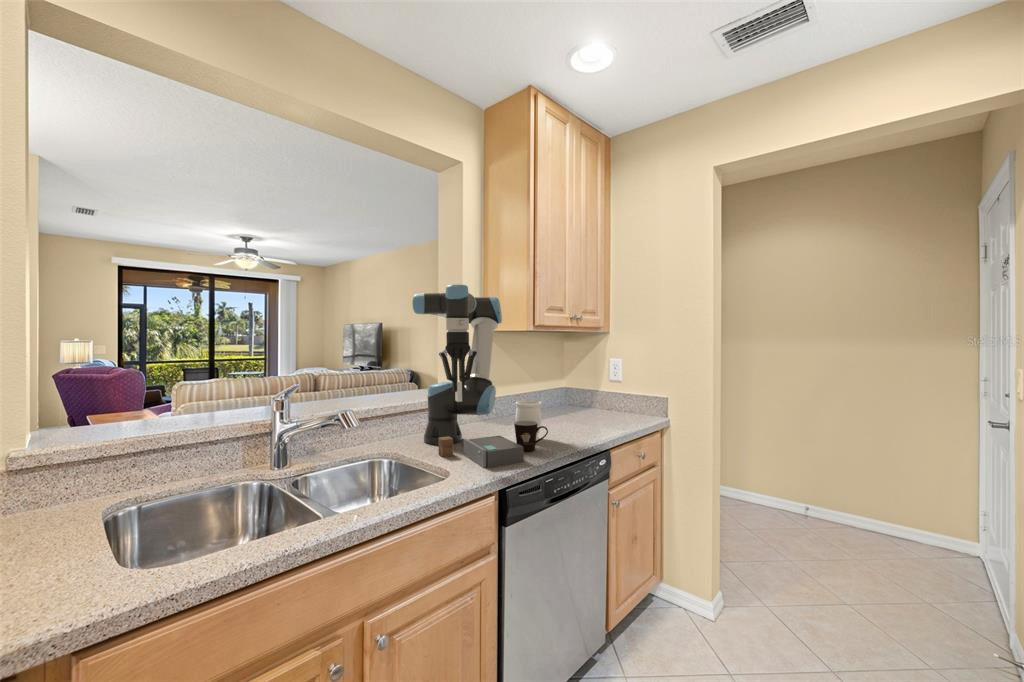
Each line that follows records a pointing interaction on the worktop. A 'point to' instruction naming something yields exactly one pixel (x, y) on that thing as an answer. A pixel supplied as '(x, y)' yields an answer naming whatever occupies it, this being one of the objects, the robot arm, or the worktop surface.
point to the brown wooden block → (445, 446)
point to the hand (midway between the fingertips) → (458, 400)
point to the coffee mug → (527, 434)
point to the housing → (500, 450)
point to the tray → (475, 453)
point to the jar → (529, 412)
